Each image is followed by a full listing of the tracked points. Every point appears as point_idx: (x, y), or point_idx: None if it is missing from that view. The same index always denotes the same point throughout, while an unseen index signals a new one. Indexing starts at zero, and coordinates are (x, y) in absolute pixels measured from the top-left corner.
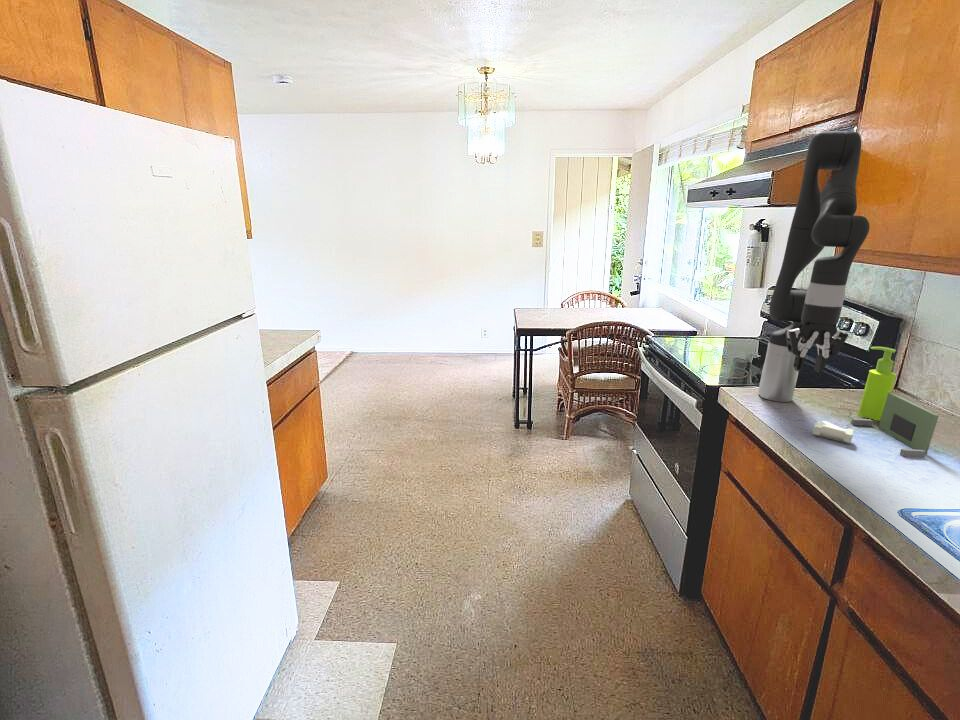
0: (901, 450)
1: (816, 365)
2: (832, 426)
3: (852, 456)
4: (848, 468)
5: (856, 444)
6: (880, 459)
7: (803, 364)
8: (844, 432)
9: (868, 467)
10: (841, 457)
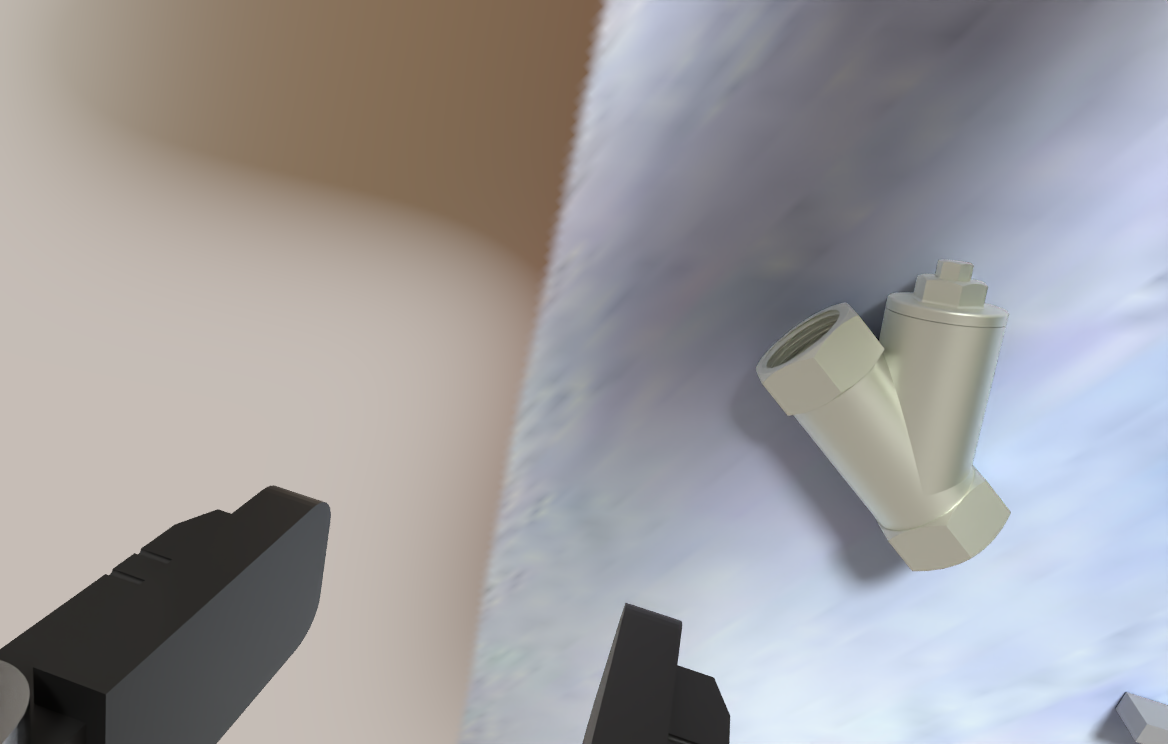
0: (1137, 721)
1: (595, 717)
2: (881, 448)
3: (761, 632)
4: None
5: None
6: (905, 698)
7: (216, 730)
8: (898, 526)
9: None
10: None
